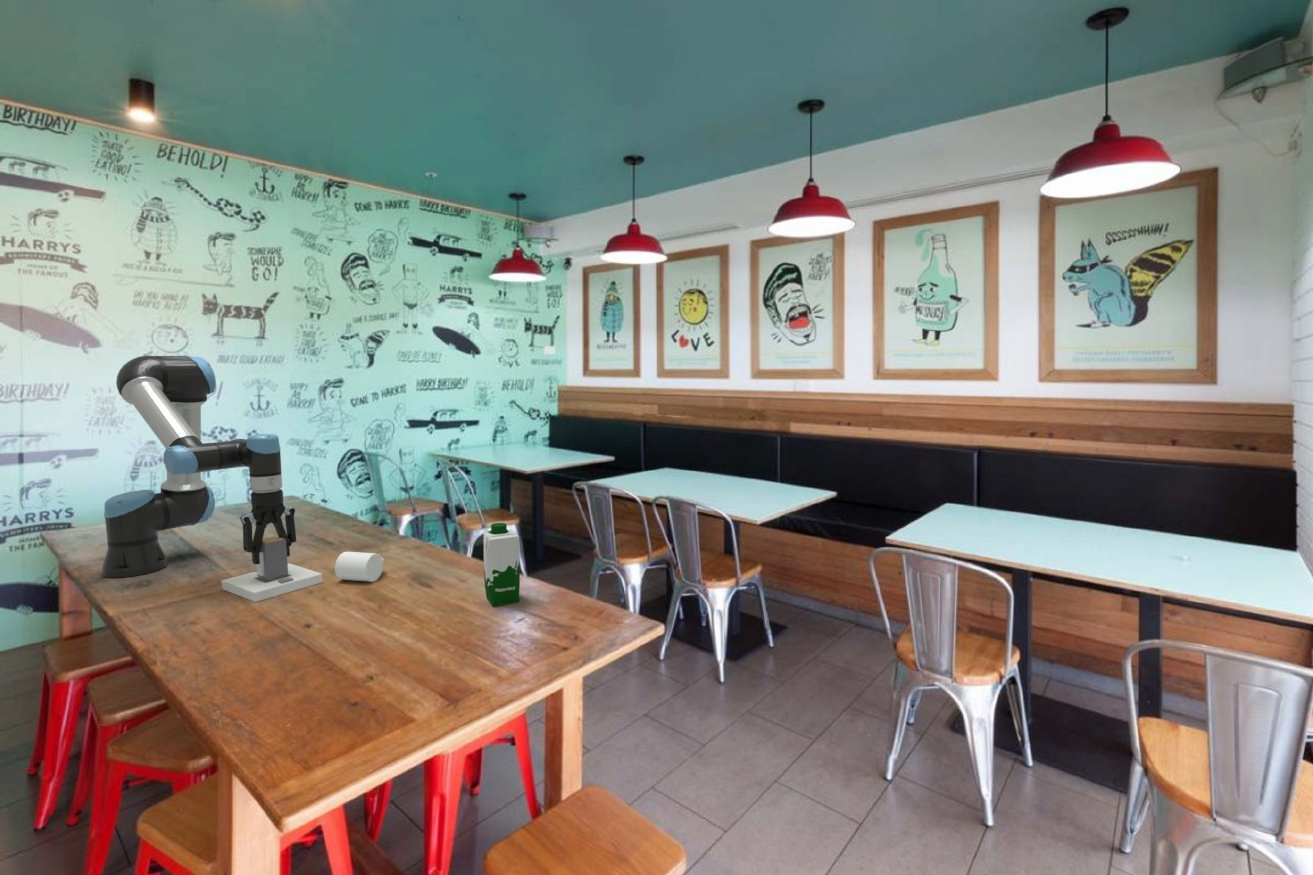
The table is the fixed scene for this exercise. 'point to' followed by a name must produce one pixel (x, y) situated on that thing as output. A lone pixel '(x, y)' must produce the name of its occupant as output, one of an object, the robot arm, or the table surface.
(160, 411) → the robot arm
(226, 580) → the socket plate
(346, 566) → the mug
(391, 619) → the table surface
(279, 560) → the plug
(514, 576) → the milk carton
